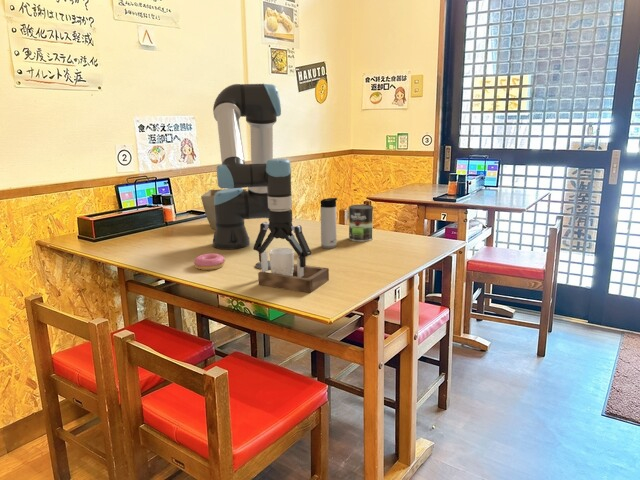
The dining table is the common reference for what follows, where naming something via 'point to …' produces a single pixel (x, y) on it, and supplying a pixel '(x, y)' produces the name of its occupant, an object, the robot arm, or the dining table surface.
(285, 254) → the white cup
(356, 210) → the coffee can
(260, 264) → the coaster
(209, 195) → the flower pot
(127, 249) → the dining table surface
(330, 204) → the travel mug
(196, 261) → the doughnut
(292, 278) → the brown wooden tray
